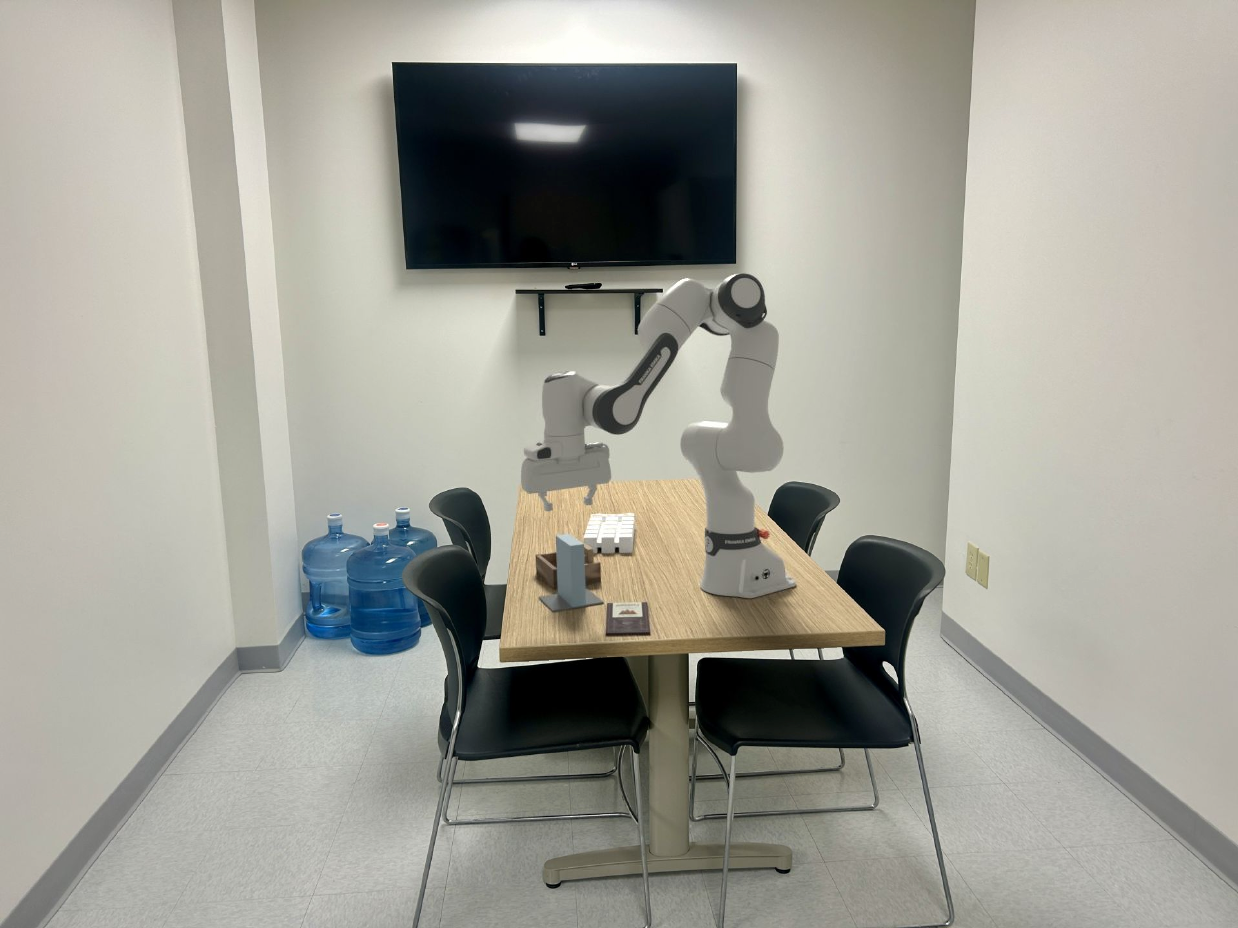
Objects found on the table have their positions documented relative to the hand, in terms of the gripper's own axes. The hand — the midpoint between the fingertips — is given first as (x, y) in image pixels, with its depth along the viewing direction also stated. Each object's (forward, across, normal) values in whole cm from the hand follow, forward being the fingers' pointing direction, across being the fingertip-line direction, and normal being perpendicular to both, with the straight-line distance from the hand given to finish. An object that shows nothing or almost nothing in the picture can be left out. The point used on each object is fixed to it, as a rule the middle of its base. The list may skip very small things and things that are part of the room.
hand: (568, 507), depth 182 cm
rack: (+22, -4, -16) cm, 27 cm away
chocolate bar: (+22, -6, +16) cm, 28 cm away
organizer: (+24, -29, -47) cm, 60 cm away
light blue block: (+21, +1, 0) cm, 21 cm away
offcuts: (+21, -7, -16) cm, 27 cm away
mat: (+22, +1, 0) cm, 22 cm away
